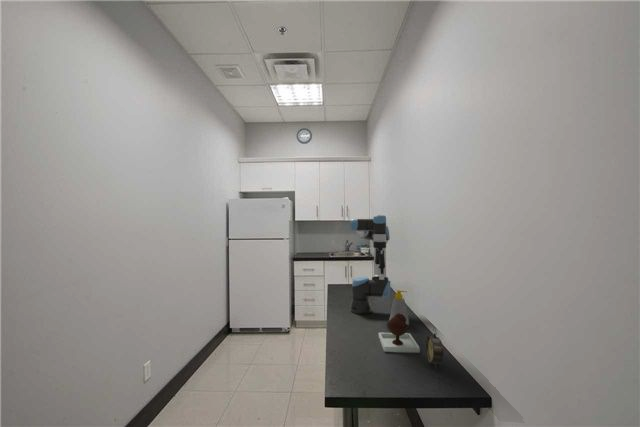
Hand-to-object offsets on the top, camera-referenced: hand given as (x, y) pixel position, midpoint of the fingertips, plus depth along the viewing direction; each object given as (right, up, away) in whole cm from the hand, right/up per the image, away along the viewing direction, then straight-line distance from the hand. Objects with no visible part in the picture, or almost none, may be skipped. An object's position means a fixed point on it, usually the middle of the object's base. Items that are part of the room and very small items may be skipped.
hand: (379, 277), depth 160 cm
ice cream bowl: (+5, -30, -20) cm, 36 cm away
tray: (+5, -30, -20) cm, 37 cm away
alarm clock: (+16, -30, -40) cm, 52 cm away
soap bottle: (+14, -31, +10) cm, 36 cm away
